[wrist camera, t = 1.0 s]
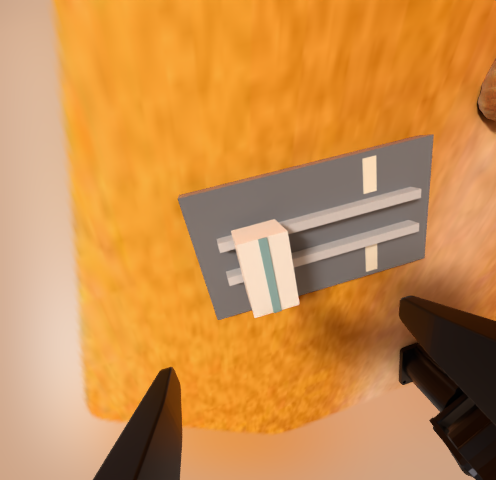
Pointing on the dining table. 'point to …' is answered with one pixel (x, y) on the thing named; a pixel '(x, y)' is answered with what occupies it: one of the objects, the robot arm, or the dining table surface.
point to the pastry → (489, 94)
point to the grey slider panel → (318, 218)
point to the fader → (266, 267)
